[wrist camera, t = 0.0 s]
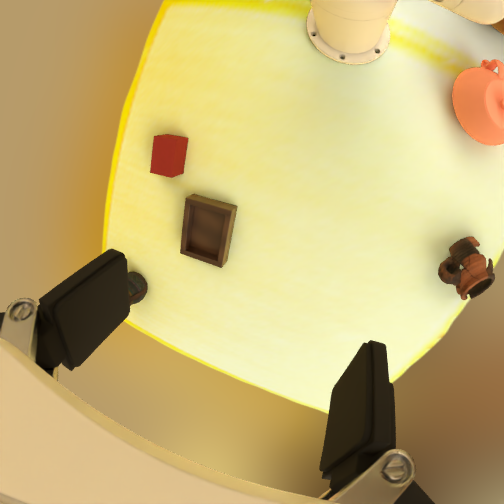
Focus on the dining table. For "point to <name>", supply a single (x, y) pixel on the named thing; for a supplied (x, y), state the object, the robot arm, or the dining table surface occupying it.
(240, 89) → the dining table surface
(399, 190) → the dining table surface
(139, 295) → the mate gourd
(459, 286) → the pottery mug
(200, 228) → the brown shallow rectangular box
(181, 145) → the red block
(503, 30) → the ceramic pitcher
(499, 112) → the sugar bowl
